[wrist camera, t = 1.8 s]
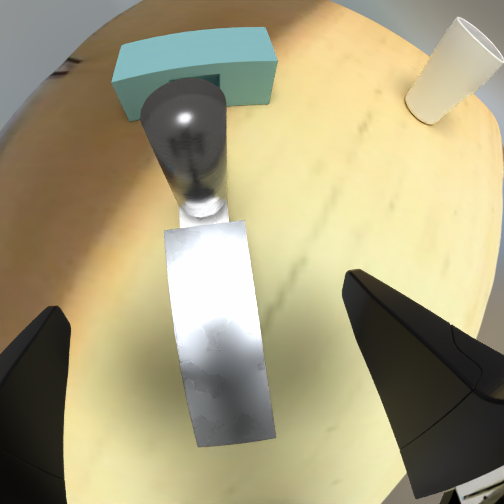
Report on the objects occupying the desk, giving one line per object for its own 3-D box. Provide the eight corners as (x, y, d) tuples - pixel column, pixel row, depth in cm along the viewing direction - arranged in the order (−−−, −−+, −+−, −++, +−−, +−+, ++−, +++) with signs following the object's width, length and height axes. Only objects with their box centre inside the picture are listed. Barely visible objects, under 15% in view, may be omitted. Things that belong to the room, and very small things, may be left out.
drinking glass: (426, 137, 26) (500, 65, 11) (389, 96, 27) (447, 13, 12) (446, 123, 27) (509, 61, 13) (414, 86, 28) (466, 17, 13)
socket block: (268, 104, 25) (277, 61, 19) (129, 121, 23) (111, 82, 17) (259, 67, 26) (265, 27, 20) (135, 82, 24) (121, 45, 19)
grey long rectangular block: (266, 411, 19) (276, 437, 14) (204, 419, 19) (197, 447, 14) (241, 239, 22) (244, 220, 17) (178, 247, 21) (163, 230, 16)
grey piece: (253, 394, 19) (282, 488, 7) (208, 400, 18) (187, 497, 7) (218, 133, 23) (215, 18, 11) (180, 138, 22) (153, 27, 10)
